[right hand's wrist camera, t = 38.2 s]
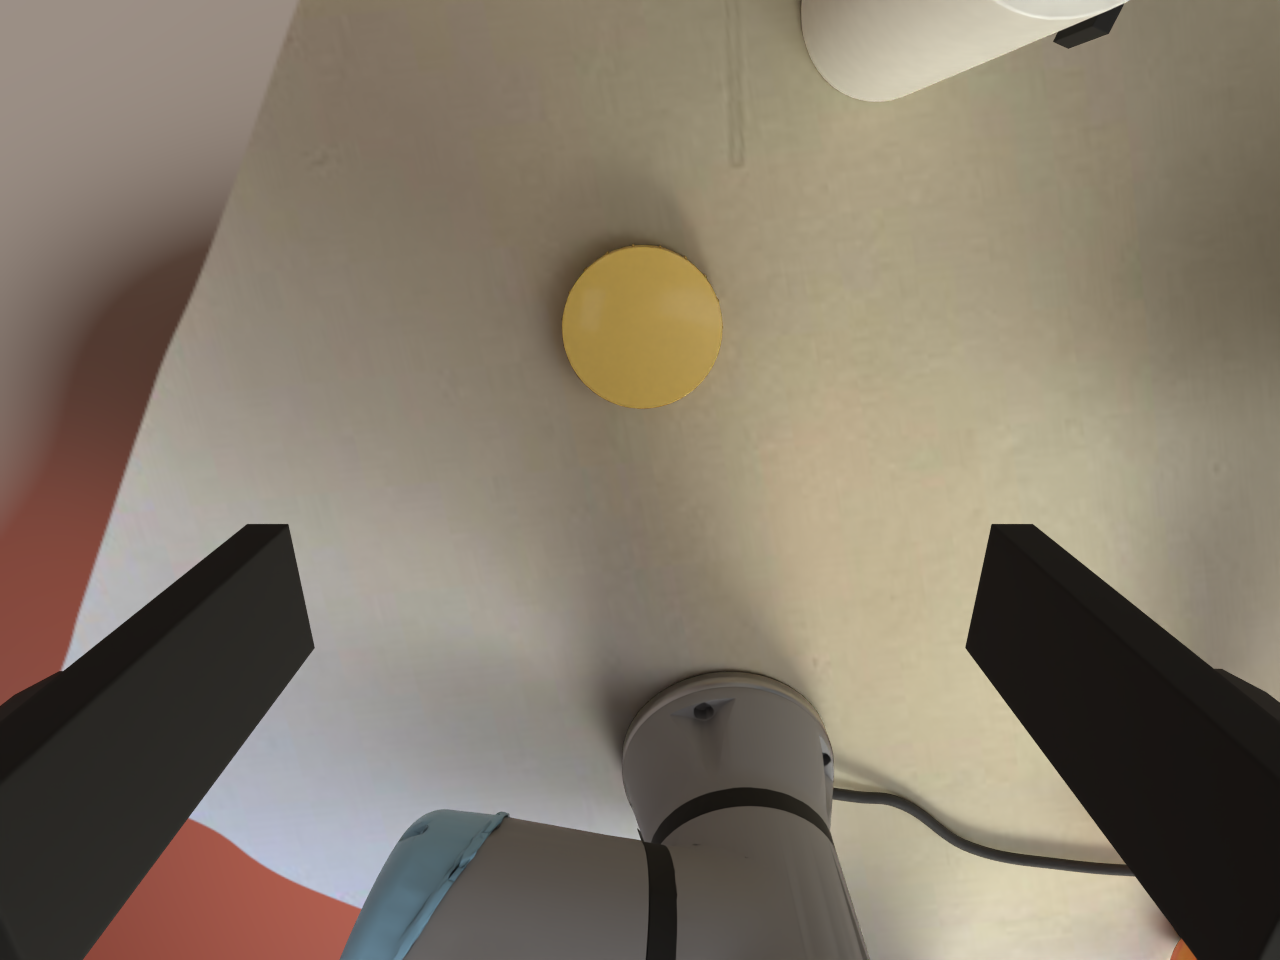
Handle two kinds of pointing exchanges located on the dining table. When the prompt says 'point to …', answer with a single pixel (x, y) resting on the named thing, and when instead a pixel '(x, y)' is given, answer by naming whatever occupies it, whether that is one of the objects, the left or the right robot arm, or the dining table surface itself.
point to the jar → (924, 38)
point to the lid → (642, 326)
